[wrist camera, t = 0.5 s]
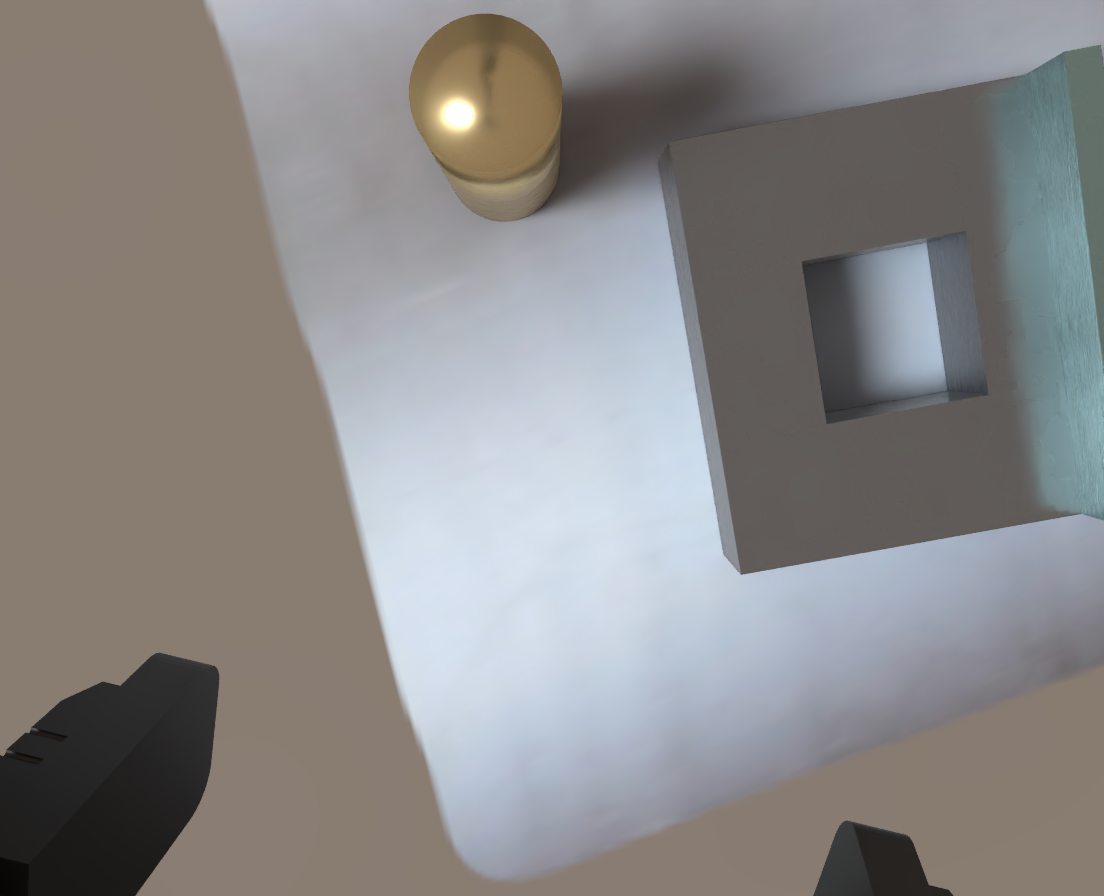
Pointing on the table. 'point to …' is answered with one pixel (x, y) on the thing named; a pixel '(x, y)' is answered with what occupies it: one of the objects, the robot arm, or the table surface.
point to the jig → (961, 302)
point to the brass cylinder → (490, 113)
